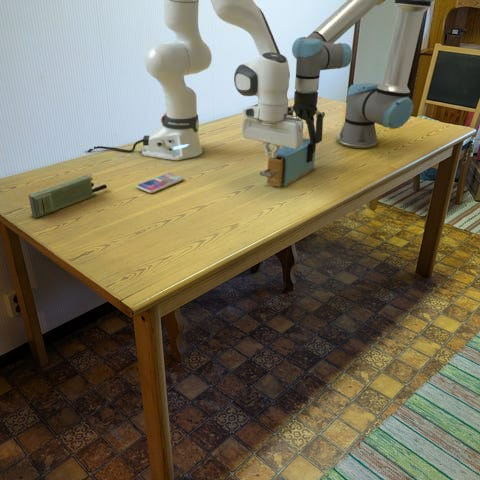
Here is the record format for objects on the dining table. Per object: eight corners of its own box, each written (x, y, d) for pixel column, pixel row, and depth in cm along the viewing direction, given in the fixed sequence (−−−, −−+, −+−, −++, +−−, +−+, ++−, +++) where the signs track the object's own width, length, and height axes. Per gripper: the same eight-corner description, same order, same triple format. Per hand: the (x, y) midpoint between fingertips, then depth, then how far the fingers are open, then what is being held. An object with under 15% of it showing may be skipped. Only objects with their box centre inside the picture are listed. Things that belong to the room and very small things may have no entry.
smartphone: (184, 177, 167) (150, 191, 157) (184, 180, 167) (151, 194, 157) (168, 171, 171) (134, 185, 161) (168, 174, 171) (135, 188, 161)
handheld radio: (30, 215, 144) (102, 188, 161) (37, 219, 142) (109, 191, 159) (26, 193, 140) (100, 168, 157) (33, 197, 138) (107, 171, 155)
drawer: (270, 191, 158) (271, 166, 154) (258, 188, 160) (259, 162, 156) (306, 170, 174) (308, 146, 170) (295, 167, 176) (296, 143, 172)
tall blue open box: (285, 186, 164) (287, 156, 159) (270, 182, 167) (271, 152, 162) (313, 169, 177) (316, 141, 172) (299, 165, 180) (301, 137, 175)
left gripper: (308, 115, 146) (305, 160, 153) (250, 104, 156) (250, 147, 163) (297, 119, 141) (295, 166, 148) (238, 108, 152) (238, 153, 159)
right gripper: (338, 92, 160) (330, 162, 171) (287, 84, 170) (283, 150, 181) (327, 97, 155) (320, 168, 166) (275, 88, 164) (272, 156, 176)
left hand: (271, 156), depth 156 cm, fingers closed
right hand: (301, 159), depth 173 cm, fingers closed on tall blue open box, 6 cm apart
